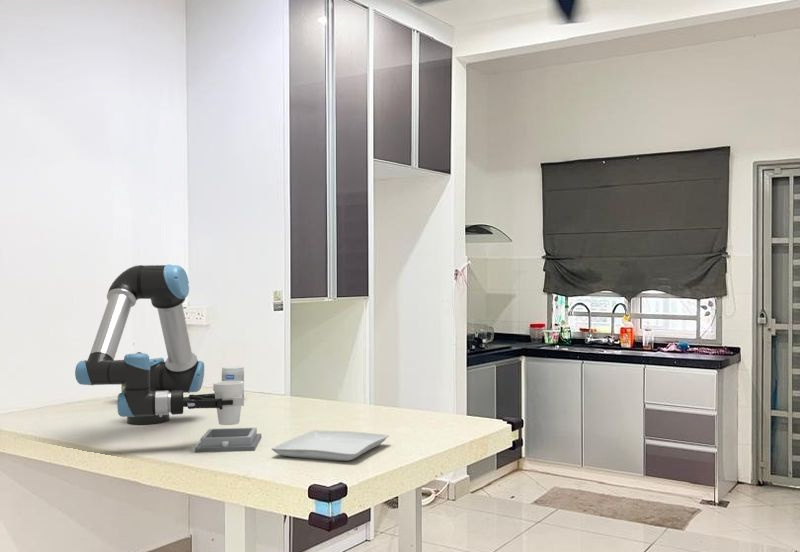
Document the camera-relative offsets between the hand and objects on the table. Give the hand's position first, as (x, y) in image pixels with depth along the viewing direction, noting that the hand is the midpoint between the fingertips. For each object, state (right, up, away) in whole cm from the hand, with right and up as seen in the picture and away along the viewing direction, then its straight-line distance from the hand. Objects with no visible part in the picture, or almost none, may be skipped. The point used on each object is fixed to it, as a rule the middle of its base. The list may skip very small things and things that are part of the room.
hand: (243, 399), depth 243 cm
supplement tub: (-23, -15, +89) cm, 93 cm away
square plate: (+30, -14, -12) cm, 35 cm away
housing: (-4, -14, -1) cm, 15 cm away
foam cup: (-4, -8, -1) cm, 9 cm away
